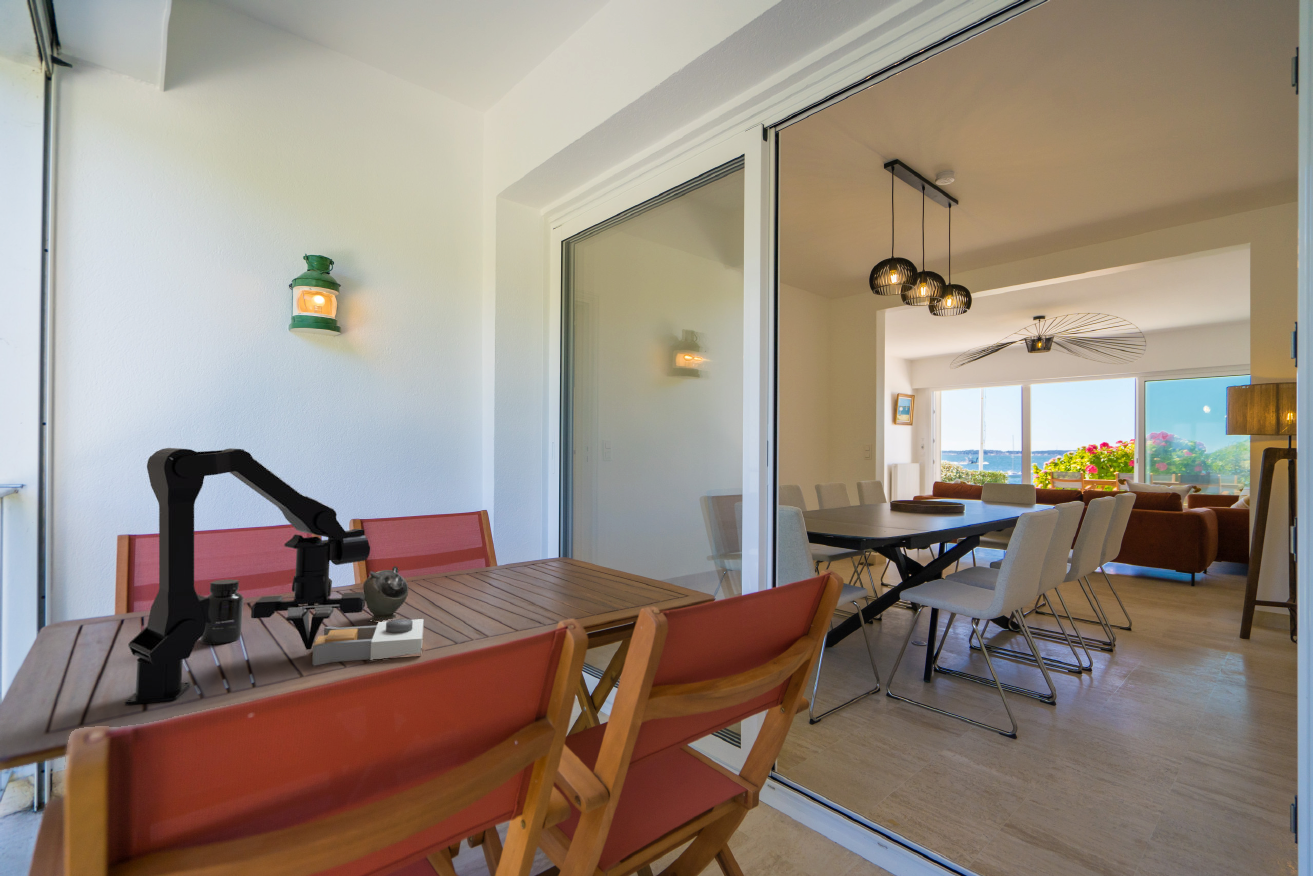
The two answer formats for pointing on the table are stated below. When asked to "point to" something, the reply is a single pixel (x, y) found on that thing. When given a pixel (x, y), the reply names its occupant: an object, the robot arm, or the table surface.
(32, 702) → the table surface
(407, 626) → the forked block with knob
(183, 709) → the table surface
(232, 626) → the supplement bottle
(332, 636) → the orange stepped block
